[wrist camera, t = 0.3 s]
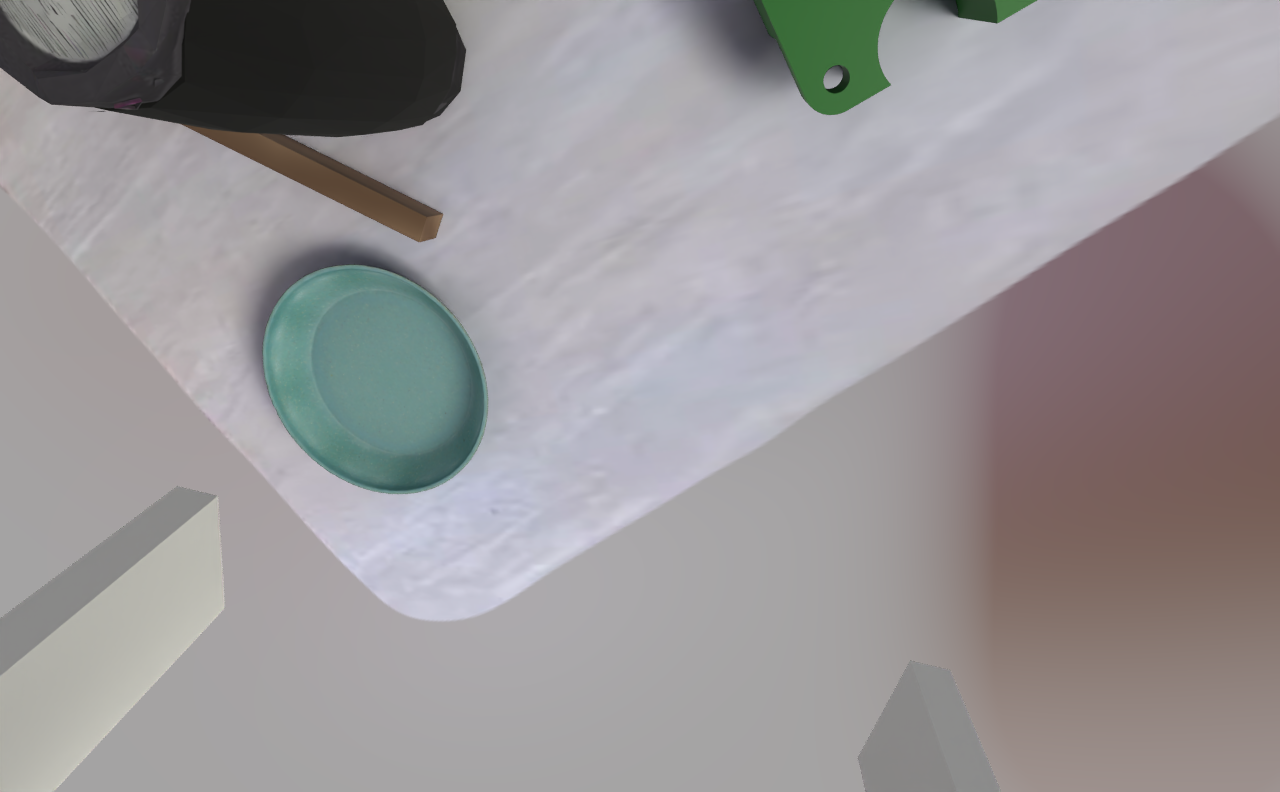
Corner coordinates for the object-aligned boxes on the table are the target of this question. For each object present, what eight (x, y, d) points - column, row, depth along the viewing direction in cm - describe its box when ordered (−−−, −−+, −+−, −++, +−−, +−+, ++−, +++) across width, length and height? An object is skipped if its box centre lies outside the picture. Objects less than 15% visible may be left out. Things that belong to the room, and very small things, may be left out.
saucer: (246, 337, 44) (215, 348, 42) (402, 208, 39) (378, 212, 37) (387, 511, 47) (366, 531, 44) (549, 411, 42) (535, 427, 40)
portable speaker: (463, 158, 37) (177, 168, 19) (310, 104, 38) (-109, 64, 20) (497, -12, 34) (190, -192, 16) (329, -69, 35) (-152, -306, 16)
